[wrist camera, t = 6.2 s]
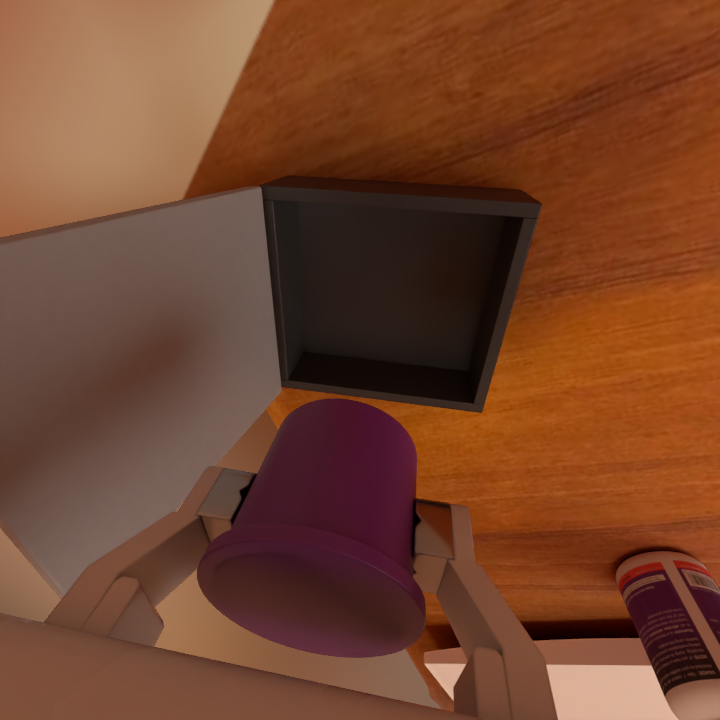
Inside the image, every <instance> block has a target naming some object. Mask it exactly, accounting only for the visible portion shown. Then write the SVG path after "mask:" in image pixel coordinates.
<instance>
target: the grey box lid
mask: <svg viewBox="0 0 720 720" xmlns="http://www.w3.org/2000/svg"><path fill="white" fill-rule="evenodd" d="M281 391H282V388H281V378H280V369H279V359H278V349H277V339H276V329H275V319H274V309H273V299H272V289H271V279H270V269H269V259H268V249H267V239H266V230H265V220H264V210H263V200H262V190H261V187H258V186H247V187H242V188H237V189H233V190H228V191H223V192H218V193H213V194H208V195H204V196H199V197H194V198H189V199H184V200H180V201H175V202H170V203H165V204H160V205H155V206H151V207H146V208H141V209H136V210H131V211H127V212H122V213H117V214H112V215H107V216H103V217H98V218H93V219H88V220H83V221H78V222H74V223H69V224H64V225H59V226H54V227H50V228H45V229H40V230H35V231H30V232H26V233H21V234H16V235H11V236H6V237H1V238H0V528H1V529H2V530H3V532H4V533H5V534H6V535H7V536H8V538H9V539H10V540H11V541H12V542H13V543H14V545H15V546H16V547H17V548H18V549H19V550H20V552H21V553H22V554H23V555H24V556H25V558H26V559H27V560H28V561H29V562H30V563H31V564H32V566H33V567H34V568H35V569H36V570H37V572H38V573H39V574H40V575H41V576H42V578H43V579H44V580H45V581H46V582H47V583H48V584H49V586H50V587H51V588H52V589H53V590H54V592H55V593H56V594H57V595H58V596H59V597H60V599H62V598H63V597H64V596H65V594H66V593H67V592H68V590H69V589H70V588H71V587H72V585H73V584H74V583H75V581H76V580H77V579H78V578H79V576H80V575H81V574H82V572H83V571H84V570H85V568H86V567H87V566H89V565H90V564H92V563H93V562H95V561H97V560H98V559H100V558H101V557H103V556H104V555H106V554H107V553H109V552H111V551H112V550H114V549H115V548H117V547H118V546H120V545H121V544H123V543H124V542H126V541H128V540H129V539H131V538H132V537H134V536H135V535H137V534H138V533H140V532H142V531H143V530H145V529H146V528H148V527H149V526H151V525H152V524H154V523H155V522H157V521H159V520H160V519H162V518H163V517H165V516H166V515H168V514H169V513H171V512H173V511H174V512H175V511H176V509H177V508H178V507H179V506H180V505H181V504H182V503H183V502H184V501H185V499H186V498H187V496H188V495H189V493H190V492H191V490H192V489H193V487H194V486H195V484H196V483H197V481H198V480H199V478H200V476H201V475H202V473H203V472H204V470H205V469H207V468H208V467H209V466H216V465H217V463H218V462H219V461H220V460H221V459H222V458H223V457H224V456H225V454H226V453H227V452H228V451H229V450H230V449H231V448H232V446H233V445H234V444H235V443H236V442H237V441H238V440H239V439H240V438H241V436H242V435H243V434H244V433H245V432H246V431H247V430H248V429H249V427H250V426H251V425H252V424H253V423H254V422H255V421H256V420H257V418H258V417H259V416H260V415H261V414H262V413H263V412H264V411H265V410H266V408H267V407H268V406H269V405H270V404H271V403H272V402H273V401H274V399H275V398H276V397H277V396H278V395H279V394H280V393H281Z"/></svg>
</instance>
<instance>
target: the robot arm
mask: <svg viewBox="0 0 720 720" xmlns="http://www.w3.org/2000/svg"><path fill="white" fill-rule="evenodd" d="M256 476H257V474H256V473H250V472H244V471H239V470H233V469H227V468H222V467H216V466H209V467H208V468H207V469H205V470H204V472H203V473H202V475H201V476H200V478H199V480H198V481H197V483H196V484H195V486H194V487H193V489H192V490H191V492H190V493H189V495H188V496H187V498H186V500H185V501H184V503H183V504H182V506H181V507H180V509H179V510H178V512H174V511H173V512H171V513H169V514H168V515H166V516H165V517H163V518H162V519H160V520H159V521H157V522H155V523H154V524H152V525H151V526H149V527H148V528H146V529H145V530H143V531H142V532H140V533H138V534H137V535H135V536H134V537H132V538H131V539H129V540H128V541H126V542H124V543H123V544H121V545H120V546H118V547H117V548H115V549H114V550H112V551H111V552H109V553H107V554H106V555H104V556H103V557H101V558H100V559H98V560H97V561H95V562H93V563H92V564H90V565H89V566H87V567H86V568H85V570H84V571H83V572H82V574H81V575H80V576H79V578H78V579H77V580H76V581H75V583H74V584H73V585H72V587H71V588H70V589H69V590H68V592H67V593H66V594H65V596H64V597H63V598H62V599H61V601H60V602H59V603H58V605H57V606H56V607H55V608H54V610H53V611H52V612H51V614H50V615H49V616H48V618H47V619H46V620H45V621H44V623H43V622H38V621H34V620H29V619H24V618H20V617H15V616H11V615H6V614H1V613H0V720H558V717H557V712H556V708H555V703H554V699H553V694H552V690H551V685H550V680H549V676H548V671H547V667H546V662H545V658H544V656H543V655H542V653H541V652H540V650H539V649H538V648H537V646H536V645H535V643H534V642H533V640H532V639H531V637H530V636H529V634H528V633H527V631H526V630H525V629H524V627H523V626H522V624H521V623H520V621H519V620H518V618H517V617H516V615H515V614H514V613H513V611H512V610H511V608H510V607H509V605H508V604H507V602H506V601H505V599H504V598H503V596H502V595H501V594H500V592H499V591H498V589H497V588H496V586H495V585H494V583H493V582H492V580H491V579H490V577H489V576H488V575H487V573H486V572H485V570H484V569H483V567H482V566H481V565H478V564H475V555H474V546H473V537H472V528H471V520H470V511H469V508H468V507H467V506H463V505H456V504H449V503H446V502H439V501H432V500H425V499H418V498H415V508H414V524H415V530H414V536H413V564H414V566H413V578H414V579H415V580H416V582H417V583H418V585H419V587H420V588H421V590H422V591H424V592H429V593H434V594H437V598H438V600H439V602H440V604H441V606H442V608H443V610H444V612H445V614H446V616H447V618H448V621H449V623H450V625H451V627H452V629H453V631H454V633H455V635H456V637H457V639H458V641H459V644H460V646H461V648H462V650H463V652H464V654H465V656H466V658H467V660H468V662H467V663H466V665H465V667H464V669H463V671H462V673H461V674H460V676H459V678H458V680H457V682H456V684H455V685H454V687H453V695H454V712H450V711H446V710H441V709H436V708H432V707H427V706H423V705H418V704H414V703H409V702H404V701H400V700H395V699H391V698H386V697H381V696H377V695H372V694H368V693H363V692H359V691H354V690H350V689H345V688H340V687H336V686H331V685H326V684H322V683H318V682H313V681H308V680H304V679H299V678H294V677H290V676H286V675H281V674H276V673H272V672H267V671H263V670H258V669H253V668H249V667H244V666H240V665H235V664H231V663H226V662H221V661H216V660H212V659H208V658H203V657H198V656H193V655H189V654H185V653H180V652H176V651H171V650H166V649H162V648H157V647H154V646H155V643H156V642H157V640H158V638H159V636H160V634H161V632H162V630H163V628H164V625H163V620H162V619H161V617H160V616H159V614H158V612H157V610H156V609H155V606H156V605H158V604H159V603H160V602H161V601H162V600H163V599H164V598H165V597H166V596H168V595H169V594H170V593H171V592H172V591H173V590H174V589H175V588H176V587H177V586H179V585H180V584H181V583H182V582H183V581H184V580H185V579H186V578H187V577H189V576H190V575H191V574H192V573H193V572H194V571H195V570H196V569H197V568H198V565H199V562H200V560H201V558H202V557H203V555H204V553H205V551H206V549H207V547H208V546H209V544H210V543H211V542H212V541H213V540H214V539H215V538H216V537H218V536H219V535H221V534H222V533H224V532H226V531H228V530H230V529H231V527H232V525H233V523H234V521H235V519H236V517H237V515H238V513H239V511H240V508H241V506H242V504H243V502H244V500H245V498H246V496H247V494H248V492H249V490H250V488H251V486H252V484H253V482H254V480H255V478H256Z"/></svg>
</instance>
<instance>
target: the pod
mask: <svg viewBox="0 0 720 720" xmlns="http://www.w3.org/2000/svg"><path fill="white" fill-rule="evenodd" d="M416 472H417V454H416V449H415V446H414V443H413V441H412V439H411V437H410V436H409V434H408V433H407V431H406V430H405V429H404V428H403V427H402V425H401V424H400V423H399V422H397V421H396V420H395V419H394V418H393V417H391V416H390V415H388V414H387V413H385V412H383V411H381V410H379V409H378V408H375V407H373V406H370V405H368V404H365V403H361V402H358V401H353V400H347V399H324V400H317V401H313V402H310V403H307V404H305V405H302V406H300V407H299V408H297V409H295V410H294V411H293V412H291V413H290V414H289V415H288V416H287V417H286V418H285V420H284V421H283V423H282V424H281V426H280V428H279V430H278V432H277V434H276V437H275V439H274V441H273V443H272V445H271V447H270V449H269V451H268V453H267V455H266V457H265V459H264V461H263V463H262V466H261V467H260V470H259V471H258V473H257V476H256V478H255V480H254V482H253V484H252V486H251V488H250V490H249V492H248V494H247V496H246V498H245V500H244V502H243V504H242V506H241V508H240V511H239V513H238V515H237V517H236V519H235V521H234V523H233V525H232V527H231V529H230V530H228V531H226V532H224V533H222V534H221V535H219V536H218V537H216V538H215V539H214V540H213V541H212V542H211V543H210V544H209V546H208V547H207V549H206V551H205V553H204V555H203V557H202V558H201V560H200V562H199V565H198V569H197V580H198V583H199V586H200V588H201V590H202V592H203V594H204V595H205V597H206V598H207V599H208V600H209V602H211V604H212V605H213V606H214V607H215V608H216V609H217V610H219V611H220V612H221V613H222V614H223V615H225V616H226V617H228V618H229V619H230V620H232V621H233V622H235V623H236V624H238V625H240V626H241V627H243V628H245V629H247V630H249V631H251V632H252V633H255V634H257V635H259V636H261V637H263V638H266V639H268V640H271V641H273V642H276V643H279V644H282V645H285V646H288V647H291V648H295V649H298V650H302V651H306V652H311V653H316V654H321V655H328V656H336V657H350V658H353V657H354V658H363V657H375V656H383V655H388V654H392V653H396V652H398V651H401V650H403V649H406V648H408V647H410V646H411V645H412V644H414V643H415V642H416V641H417V640H418V639H419V638H420V637H421V635H422V633H423V631H424V628H425V622H426V606H425V598H424V596H423V593H422V590H421V588H420V587H419V585H418V583H417V582H416V580H415V579H414V578H413V566H414V564H413V536H414V530H415V524H414V508H415V498H416Z"/></svg>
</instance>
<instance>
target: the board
mask: <svg viewBox="0 0 720 720" xmlns="http://www.w3.org/2000/svg"><path fill="white" fill-rule="evenodd" d="M533 642H534V643H535V645H536V646H537V648H538V649H539V650H540V652H541V653H542V655H543V656H544V658H545V662H546V667H547V671H548V676H549V680H550V685H551V690H552V694H553V699H554V703H555V708H556V712H557V717H558V720H679V719H678V718H677V717H676V716H675V715H674V713H673V712H672V711H671V709H670V707H669V705H668V703H667V701H666V699H665V696H664V694H663V692H662V689H661V687H660V684H659V682H658V680H657V677H656V675H655V672H654V670H653V668H652V665H651V663H650V661H649V658H648V656H647V654H646V651H645V649H644V646H643V644H642V642H641V639H640V638H594V639H562V640H541V641H533ZM467 662H468V660H467V658H466V656H465V654H464V652H463V650H462V648H461V647H459V648H451V649H443V650H436V651H429V652H424V664H425V666H426V667H427V668H428V669H429V671H430V672H431V673H432V675H433V676H434V677H435V678H436V680H437V681H438V682H439V683H440V685H441V686H442V687H443V688H444V690H445V691H446V692H447V693H448V695H449V696H450V697H451V698H452V700H453V701H454V695H453V687H454V685H455V684H456V682H457V680H458V678H459V676H460V674H461V673H462V671H463V669H464V667H465V665H466V663H467Z"/></svg>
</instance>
